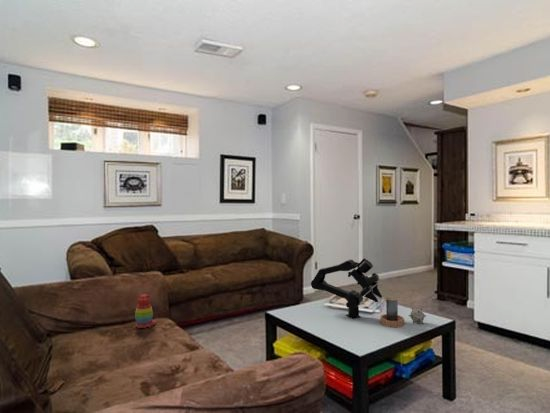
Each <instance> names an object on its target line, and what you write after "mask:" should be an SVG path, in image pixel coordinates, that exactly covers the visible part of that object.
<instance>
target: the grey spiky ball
mask: <svg viewBox="0 0 550 413" xmlns="http://www.w3.org/2000/svg"><path fill="white" fill-rule="evenodd" d="M408 317H410V318H411V320H412V322H413V323H412V324H415V323H421V324H422V325H423V324H424V322H423V321H424V319H425V317H427V315H426V314H425V313H424V312H423V309H422V308H420V309H419V308H413V307H412V308H411V311H410V314H409V315H408Z"/></svg>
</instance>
